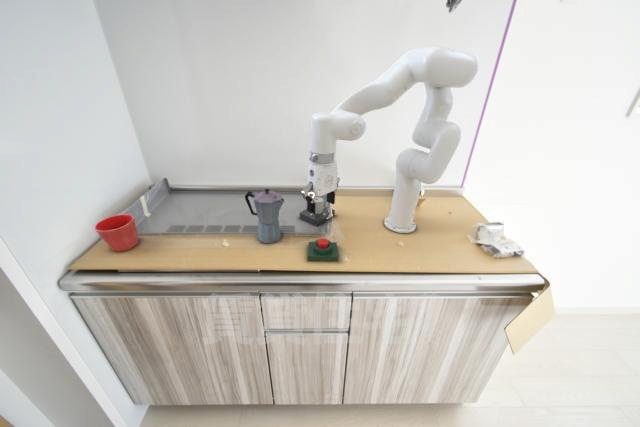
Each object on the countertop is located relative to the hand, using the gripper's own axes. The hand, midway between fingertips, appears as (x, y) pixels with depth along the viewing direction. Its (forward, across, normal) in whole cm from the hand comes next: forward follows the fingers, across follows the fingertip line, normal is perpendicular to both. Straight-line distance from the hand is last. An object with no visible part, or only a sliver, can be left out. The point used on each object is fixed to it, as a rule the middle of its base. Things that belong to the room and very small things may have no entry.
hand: (321, 207), depth 81 cm
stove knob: (+12, +14, +14) cm, 23 cm away
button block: (+15, -4, -4) cm, 16 cm away
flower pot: (+16, -48, +50) cm, 71 cm away
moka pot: (+16, -10, +17) cm, 25 cm away
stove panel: (+15, +14, +14) cm, 25 cm away
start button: (+12, -4, -4) cm, 13 cm away
